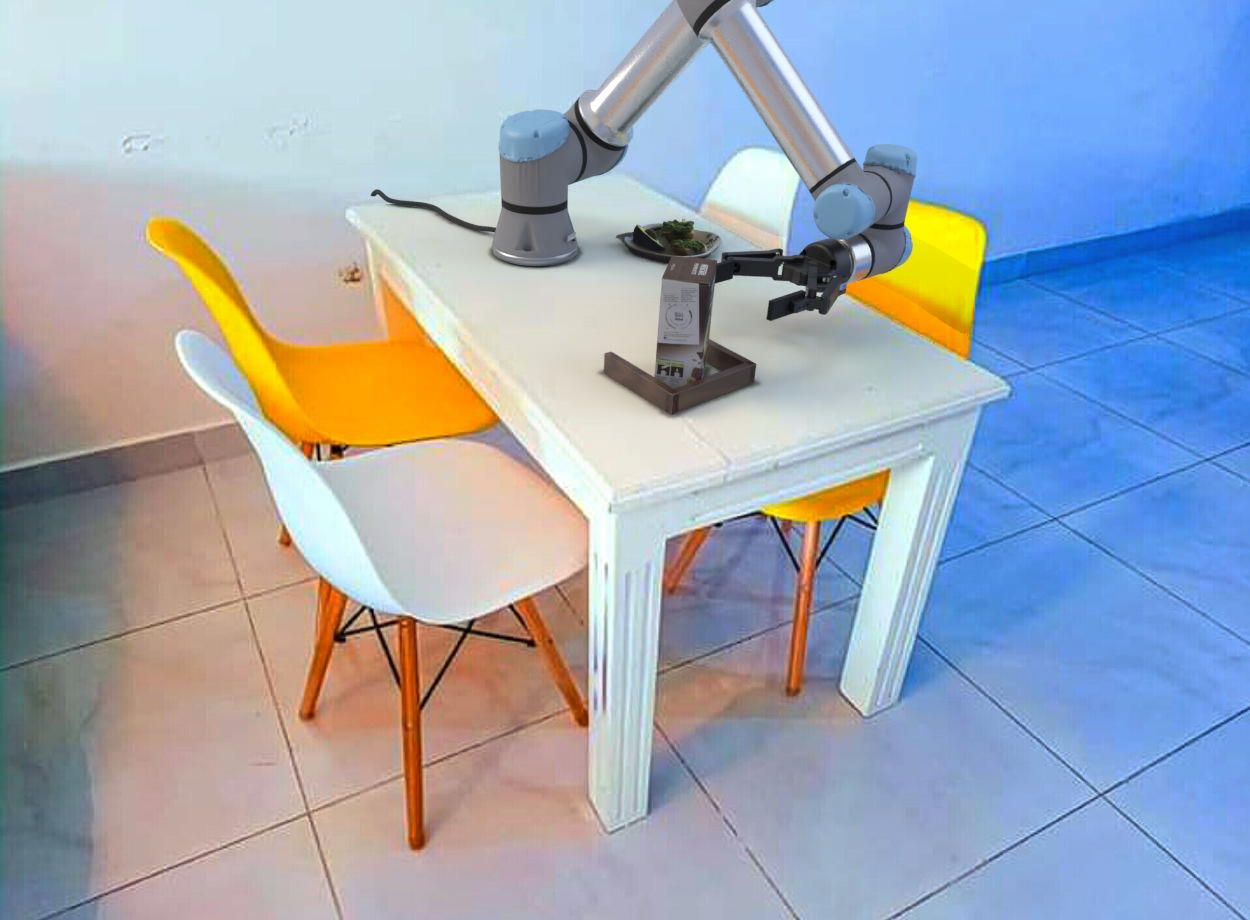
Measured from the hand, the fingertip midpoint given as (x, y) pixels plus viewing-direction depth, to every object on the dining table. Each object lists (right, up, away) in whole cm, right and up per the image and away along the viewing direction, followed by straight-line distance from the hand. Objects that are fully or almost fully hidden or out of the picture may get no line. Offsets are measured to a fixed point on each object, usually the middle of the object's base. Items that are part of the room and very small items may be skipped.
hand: (733, 294), depth 125 cm
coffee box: (-7, -12, +1) cm, 14 cm away
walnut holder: (-8, -11, +2) cm, 14 cm away
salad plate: (-6, +16, +44) cm, 48 cm away
